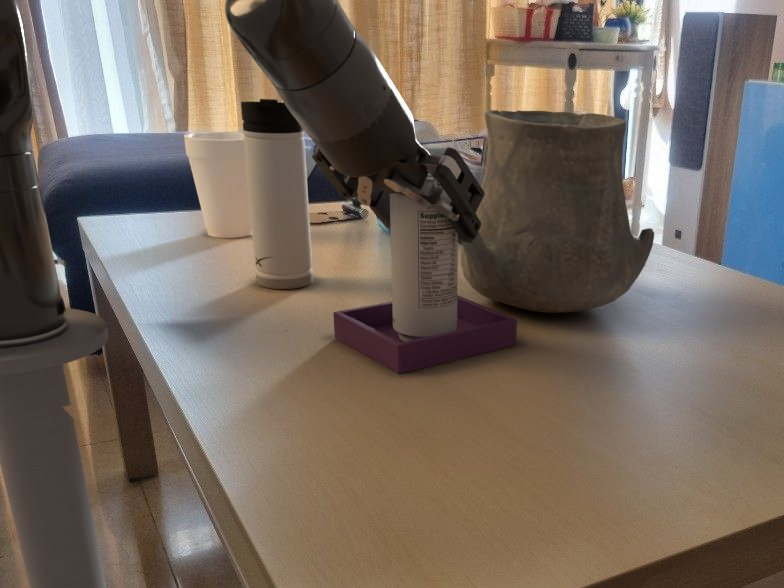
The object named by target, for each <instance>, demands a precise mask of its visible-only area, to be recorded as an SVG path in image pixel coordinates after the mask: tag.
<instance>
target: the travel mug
mask: <svg viewBox="0 0 784 588" xmlns="http://www.w3.org/2000/svg"><path fill="white" fill-rule="evenodd" d="M240 108H241V109H240V110H241V120H242V121H243V123H242V133H243V134H244V135H245V136H244V138H243V139H244V150H245V161H246V172H247V183H248V194H249V205H250V216H251V227H252V235H251V237H252V247H253V257H254V258H253V259H254V267H255V280H256V283H257V284H258V285H259V286H261V287H263V288H266V289H272V290H293V289H299V288H304V287H307V286H309V285H310V284H312V283H313V281H314V270H313V254H312V239H311V238H312V237H311V225H310V224H311V223H310V207H309V206H310V205H309V190H308V189H309V187H308V176H307V175H308V174H307V172H308V171H307V158H306V156H307V155H306V142H305V138H304V136H305V130H304V129H303V128H302V126H301V125H300V124H299V123H298V121H297V120H296V119H295V118H294V116H293V115H292V114H291V112H290V111H289V110H288V108H287V107H286V105H285V104H284V102H283V101H278V98H277V99H275V98H260V99H259V101H240Z"/></svg>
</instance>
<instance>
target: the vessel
mask: <svg viewBox="0 0 784 588" xmlns="http://www.w3.org/2000/svg"><path fill="white" fill-rule="evenodd" d="M484 120H485V125H486V132H487V152H486V160H485V170H484V175H483V178H482V181H481V185H480V186H481V188H482V189H483V191H484V193H485V195H484V197H483V199H482V201H481V203H480V205H479V207H478V209H477V211H476V215H477V217H478V219H479V220H480V222H481V227H480V229H479V231H478V233H477V235H476V237H475V238H474V240H473V242H472V243H467V242H463V241H462V240H461V243H462V248H461V252H460V253H461V254H460V265H461V269H462V274H463V277H464V278H465V280H466V281H467V283H468V284H469V286H470V287H471V288H472V289H473V290H475V291H476V292H477V293H478V294H479V295H480V296H483V297H484V298H487V299H489V300H492V301H496V302H499V303H502V304H504V305H508V306H512V307H515V308H518V309H523V310H527V311H533V312H539V313H540V312H541V313H548V314H549V313H550V314H559V313H560V314H563V313H565V314H566V313H576V312H583V311H588V310H592V309H596V308H600V307H603V306H605V305H608V304H610V303H613V302H615V301H616V300H617V299H619V298H621V297H622V296H623V295H625V294H626V293H628V291H629V290H630V289H631V287H632V286H633V285H634V284H635V282H636V281H637V279H638V277H640V274H641V273H642V271H643V269H644V268H645V266H646V264H647V261H648V260H649V257H650V255H651V251H652V249H653V246H654V240H655V231H654V229H653V228H651V227H650V228H644V229H641V231H640V233H639V236H638V237H635V236H634V235H633V233H632V230H631V226H630V220H629V212H628V208H627V207H628V206H627V202H626V196H625V189H624V188H625V187H624V181H623V179H624V178H623V146H624V140H625V134H626V130H627V120H626V119H624V118H619V117H615V116H613V115H606V114H601V113H591V112H590V113H589V112H588V113H587V112H586V113H580V114H579V113H575V112H568V111H548V110H516V111H513V110H512V111H511V110H500V111H499V110H498V109H497V110H495V109H492V110H491V109H490V110H486V111H485V113H484Z"/></svg>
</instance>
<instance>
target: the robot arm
mask: <svg viewBox="0 0 784 588" xmlns="http://www.w3.org/2000/svg"><path fill="white" fill-rule="evenodd" d="M21 15H22V14H21V11H20V7H19V5H18V2H17V0H0V348H8V347H17V346H24V345H30V344H34V343H39V342H43V341H46V340H49V339H52V338H54V337H57V336H59V335H61V334H62V333H64V332H65V331H66V330H67V328H68V324H67V319H66V318H65V314H64V313H66V309H65V308H66V305H65V304H66V303H65V300H64V298H63V295H62V293H61V288H60V283H59V277H58V272H57V267H56V261H55V258H54V252H53V247H52V242H51V237H50V231H49V226H48V220H47V214H46V210H45V205H44V200H43V199H44V198H43V194H42V189H41V184H40V178H39V173H38V167H37V162H36V157H35V152H34V146H33V140H32V129H33V124H34V117H35V107H34V99H33V92H32V91H33V90H32V84H31V77H30V69H29V61H28V53H27V52H28V51H27V43H26V37H25V31H24V25H23V20H22V16H21ZM224 15H225V19H226V21H227V24H228V26H229V28H230V29H231V31H232V33H233V35H234V36H235V37H236V39H237V40H238V41H239V43H240V44H241V45H242V46H243V49H245V51H246V52H247V54H248V55H249V56H250V57H251V58H252V60H253V61H254V62H255V63H256V65H257V66H258V67H259V69H260V70H261V72H263V74H264V75H265V76H266V78H267V79H269V80H268V81H270V83H271V84H272V85H273V87H274V88H275V90H276V91H277V94H278V95H279V97H280V99H281V100H282V103H284V104H285V105H286V107H287V108H288V110H289V111H290V112H291V114H292V115H293V116H294V118H295V119H296V120H297V121H298V123H299V124H300V125H301V126H302V128H303V130H304V132H305V133H306V134H307V135H308V137H309V138H310V140H312V142H313V144H315V146H316V147H315V150H314V152H313V154H312V155H311V158H312V159H313V161H314V162H315V163H316V165H317V166H318V168H319V169H320V170H321V171H322V173H323V175H324V176H325V177H326V178H327V180H328V181H329V182H330V184H331V185H332V186H333V188H334V189H335V190H336V192H337V193H338V194H339V196H340V197H342V198H344V199H346V200H351V199H352V197H356V198H357V201H358V202H359V203H360V204H361V205H364V206H366V207H369V208H370V209H371V211H372V212H373V214H374V215H375V216H376V217H377V219H378V220H379V221H380V222H381V223H382V225H383V226H384V227H385V229H388V230H391V228H390V193H391V194H392V193H399V194H402V195H405V196H408V197H409V198H411V199H412V200H414V201H415V202H417V203H418V204H419V205H421V206H422V207H424V208H425V209H430V208H435V209H436V210H438V211H439V212H441V213H442V214H443V215H445V216H446V217H448V220H449V222H450V223H451V225H452V226H453V228H454V229H455V231H456V232H457V234H458V238H460V240H461V242H462V241H463V242H467V243H472V242H473V240H474V238H475V237H476V235H477V233H478V231H479V229H480V227H481V222H480V220H479V219H478V217H477V215H476V211H477V209H478V207H479V205H480V203H481V201H482V199H483V197H484V195H485V193H484V191H483V189H482V188H481V185H480V183H479V181H478V180H477V179H476V177H475V176H474V174H473V172H472V171H471V169H470V168H469V166H468V164H467V163H466V161H465V160H464V158H463V157H462V155H461V154H460V152H459V151H458V150H457V149H456V148H453V147H446V148H445V150H444V152H443V154H442V155H434V154H433V155H432V154H430V153H429V151H428V150H427V149H426V148H425V147H423V146H422V145H421V144H420V143H419V142H418V140H417V136H416V129H415V121H414V116H413V114H412V112H411V110H410V109H409V107H408V105H407V104H406V103H405V101H404V99H403V97H402V96H401V94H400V93H399V91H398V89H397V88H396V86H395V85H394V83H393V81H392V80H391V78H390V77H389V75H388V73H387V72H386V70H385V68H384V67H383V65H382V63H381V62H380V60H379V59H378V57H377V55H376V54H375V52H374V50H373V49H372V48H371V46H370V45H369V43H368V42H367V41H366V40H365V39H364V38H363V36H362V35H361V34H360V33H359V32H358V30H357V29H356V28H355V25H353V23H352V22H351V20H350V19H349V17H348V15H347V13H346V12H345V10H344V9H343V7H342V6H341V4H340V2H339V0H225V3H224ZM428 173H429V174H431V175H432V176H433V178H434V183H433V185H432V187H431V189H430V191H429V193H428V195H426V194H425V193H423V192H422V191H421V189H422V187H423V185H424V183H425V181H426V179H427V176H428ZM344 176H346V177H345V179H344ZM443 190H444V191H445V192H446V194H447V195H448V197H449V198H450V199H451V203H450V205H449V204H447V203H446V202H445V201H443V200H442V199H441V194H442V192H443ZM64 310H65V312H64ZM66 315H67V314H66Z"/></svg>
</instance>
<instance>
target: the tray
mask: <svg viewBox="0 0 784 588" xmlns="http://www.w3.org/2000/svg"><path fill="white" fill-rule="evenodd" d="M332 313H333V314H332V315H333V330H334V331H333V332H334V339H336V340H338V341H339V342H341V343H343V344H345V345H347V346H348V347H350V348H351V349H353V350H356V351H358V352H359V353H361V354H362V355H364V356H366V357H367V358H369V359H372V360H373V361H375V362H376V363H378V364H380V365H382V366H384V367H385V368H388V370H391V371H393V372H395V373H396V374H398V375H400V374H404V373H408V372H412V371H417V370H421V369H424V368H428V367H433V366H436V365H437V366H438V365H440V364H446V363H449V362H453V361H457V360H461V359H465V358H469V357H474V356H478V355H481V354H486V353H489V352H494V351H498V350H502V349H505V348H510V347H513V346H517V336H518V335H517V331H518V319H517V318H514V317H513V316H509V315H507V314H505V313H503V312H500V311H498V310H495V309H492V308H490V307H488V306H485V305H483V304H481V303H479V302H476V301H473V300H471V299H468V298H466V297H463V296H460V295H459V294H457V329H456V330H455V331H452V332H447V333H443V334H438V335H433V336H429V337H424V338H420V339H415V340H411V341H406V342H405V341H403V340H401V339H400V338H399V333H398V332H397V331H396V330H395V329H394V328H393V308H392V301H386V302H381V303H375V304H371V305H365V306H359V307H353V308H348V309H343V310H337V311H333V312H332Z"/></svg>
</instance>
